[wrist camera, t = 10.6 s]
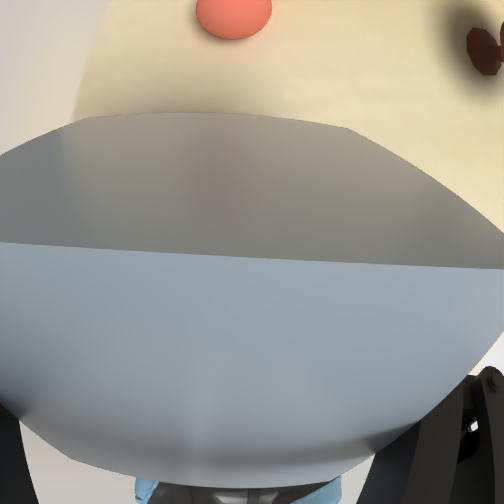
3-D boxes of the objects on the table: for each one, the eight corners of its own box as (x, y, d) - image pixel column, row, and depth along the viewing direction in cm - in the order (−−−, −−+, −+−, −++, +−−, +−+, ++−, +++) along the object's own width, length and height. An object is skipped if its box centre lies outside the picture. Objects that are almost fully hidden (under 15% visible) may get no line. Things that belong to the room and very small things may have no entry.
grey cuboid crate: (301, 322, 15) (330, 480, 8) (117, 311, 14) (70, 458, 7) (347, 128, 10) (540, 271, 2) (83, 118, 9) (-107, 234, 1)
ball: (276, -32, 11) (268, 10, 16) (199, -35, 10) (204, 7, 15) (276, 10, 11) (266, 54, 16) (186, 7, 11) (194, 51, 16)
